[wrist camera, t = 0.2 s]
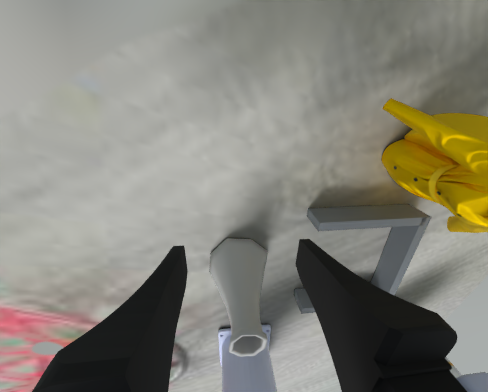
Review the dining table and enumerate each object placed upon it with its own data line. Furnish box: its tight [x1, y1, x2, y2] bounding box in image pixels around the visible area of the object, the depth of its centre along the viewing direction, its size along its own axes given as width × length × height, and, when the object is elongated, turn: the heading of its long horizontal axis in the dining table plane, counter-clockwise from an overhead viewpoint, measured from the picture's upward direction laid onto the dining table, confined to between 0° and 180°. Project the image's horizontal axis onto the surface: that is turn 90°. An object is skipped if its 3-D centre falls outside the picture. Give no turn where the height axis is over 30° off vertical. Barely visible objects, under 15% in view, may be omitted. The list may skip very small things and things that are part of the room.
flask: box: [209, 238, 268, 357], centre depth 22 cm, size 7×7×10 cm
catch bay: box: [294, 204, 431, 314], centre depth 26 cm, size 14×12×3 cm
